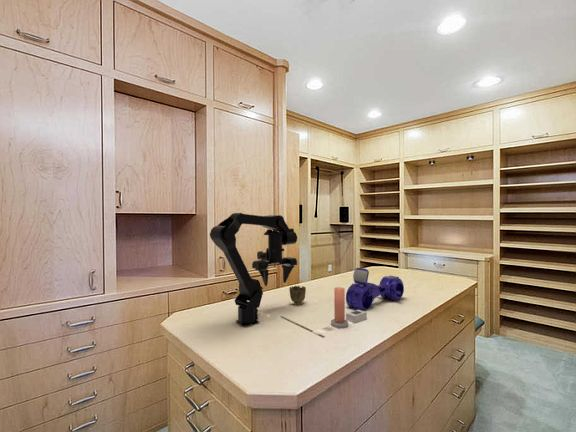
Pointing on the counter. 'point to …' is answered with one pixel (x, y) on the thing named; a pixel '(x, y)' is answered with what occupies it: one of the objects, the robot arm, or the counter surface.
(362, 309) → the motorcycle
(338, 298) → the marker peg
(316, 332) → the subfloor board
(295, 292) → the cup
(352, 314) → the gray rectangular block
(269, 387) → the counter surface
